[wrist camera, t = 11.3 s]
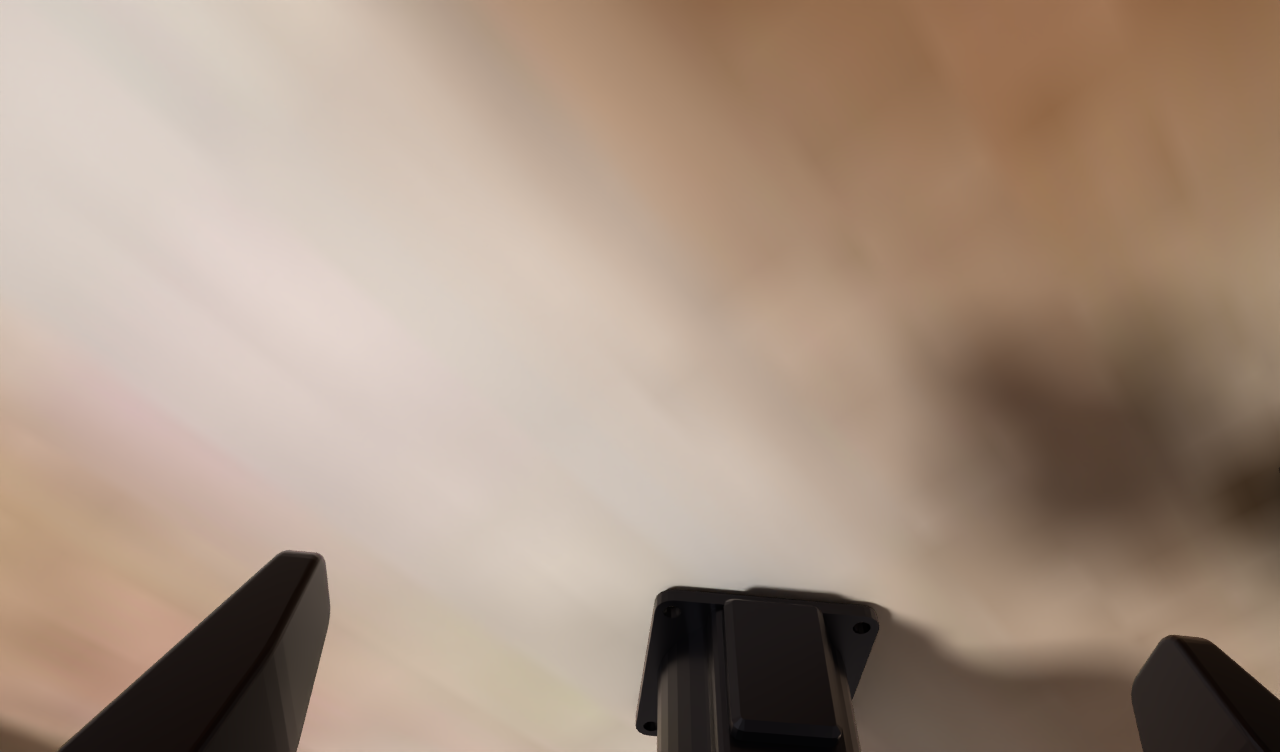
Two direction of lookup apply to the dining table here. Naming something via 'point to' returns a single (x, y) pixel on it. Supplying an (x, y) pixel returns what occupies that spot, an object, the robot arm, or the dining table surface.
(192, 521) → the dining table surface
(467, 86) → the dining table surface
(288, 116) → the dining table surface
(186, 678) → the robot arm
